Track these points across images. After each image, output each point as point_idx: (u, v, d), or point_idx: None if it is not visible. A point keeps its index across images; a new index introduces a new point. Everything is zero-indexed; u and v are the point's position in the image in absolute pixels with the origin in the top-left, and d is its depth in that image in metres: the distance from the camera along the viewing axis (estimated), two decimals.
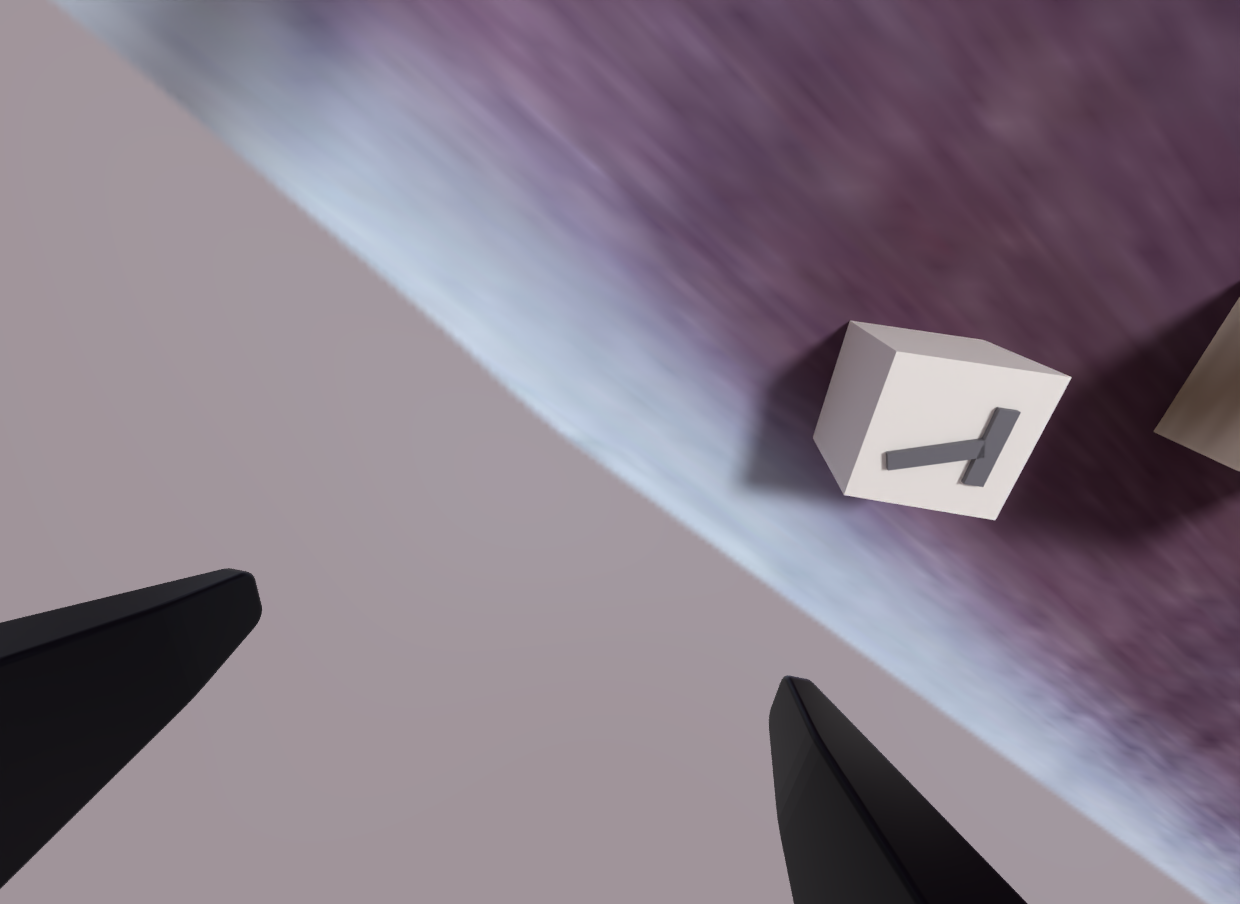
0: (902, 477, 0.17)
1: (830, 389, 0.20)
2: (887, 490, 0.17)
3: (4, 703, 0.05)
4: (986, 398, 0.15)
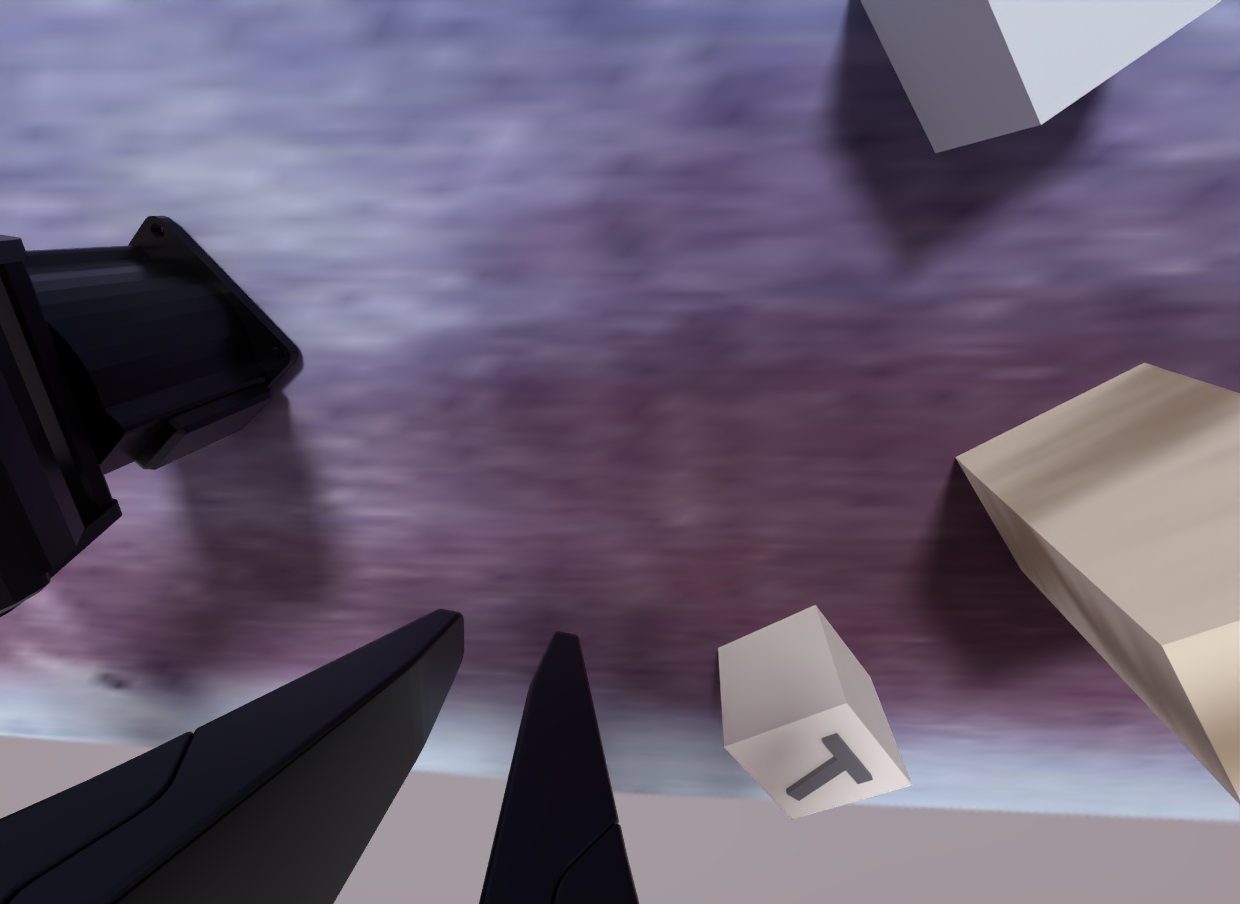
0: (815, 794, 0.20)
1: None
2: (815, 805, 0.20)
3: (325, 773, 0.05)
4: (808, 737, 0.18)
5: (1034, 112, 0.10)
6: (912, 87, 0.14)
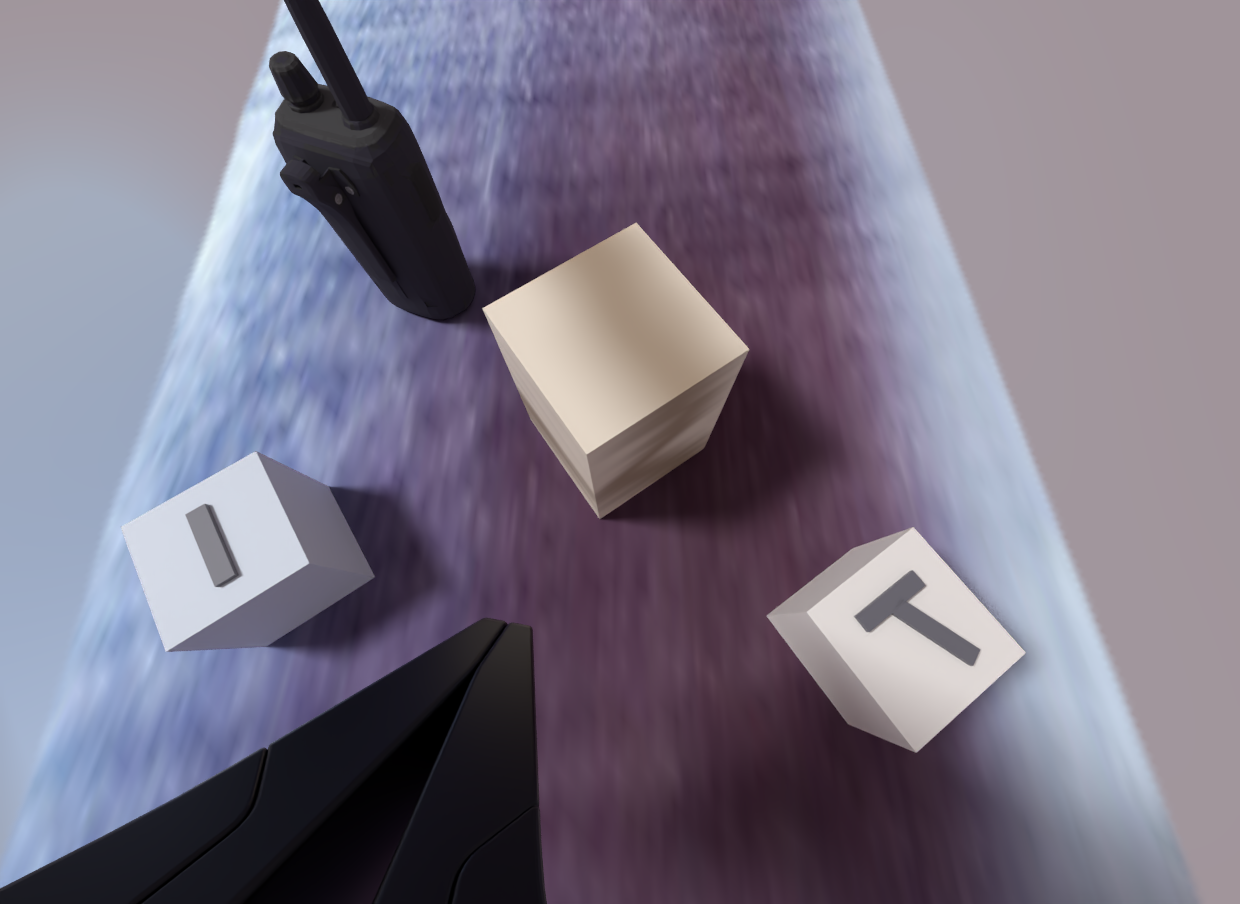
0: (966, 627, 0.17)
1: None
2: (985, 626, 0.17)
3: (395, 788, 0.05)
4: (870, 646, 0.16)
5: (303, 567, 0.17)
6: (327, 602, 0.21)
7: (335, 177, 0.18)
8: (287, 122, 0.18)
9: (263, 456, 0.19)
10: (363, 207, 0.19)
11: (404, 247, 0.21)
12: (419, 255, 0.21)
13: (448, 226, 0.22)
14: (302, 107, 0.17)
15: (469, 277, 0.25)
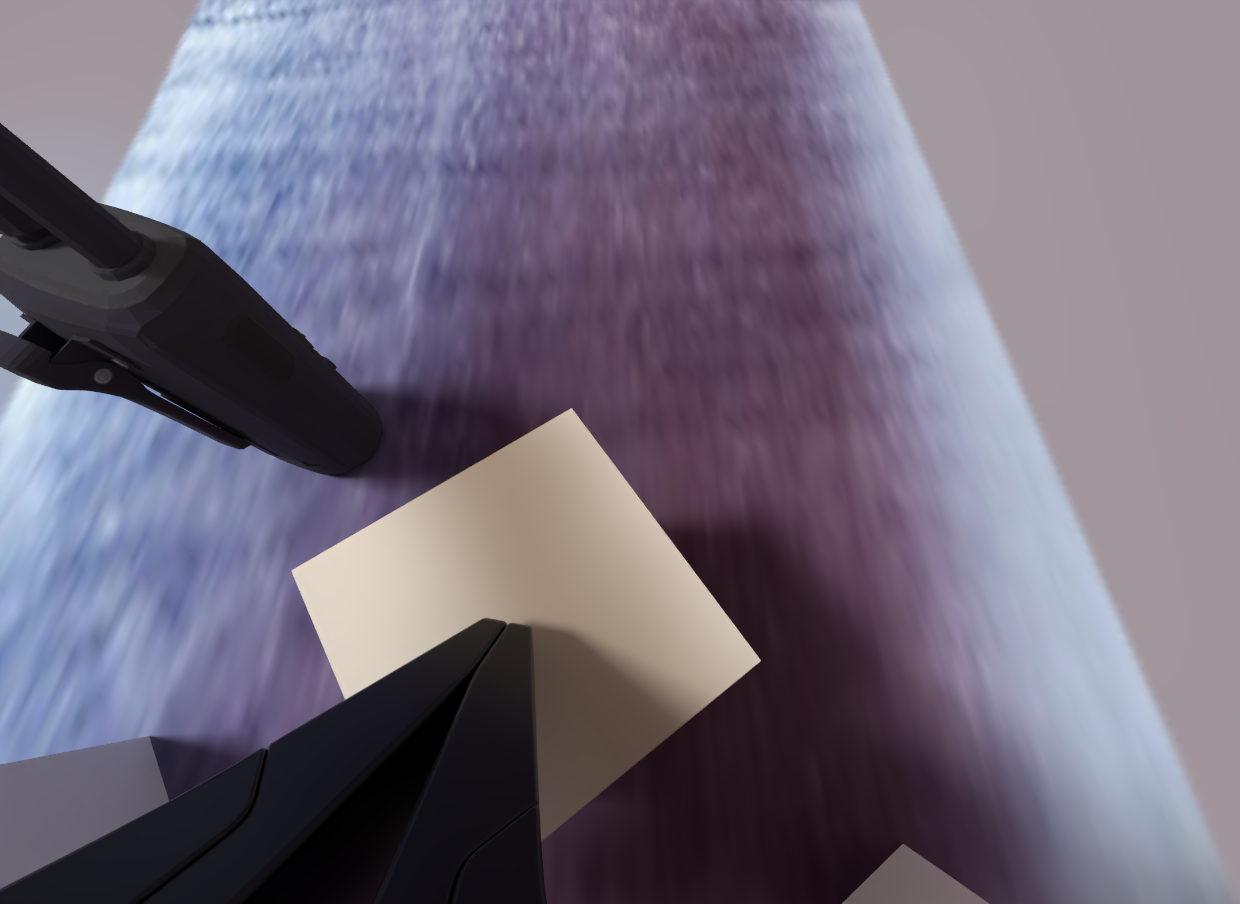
0: None
1: None
2: None
3: (395, 788, 0.05)
4: None
5: None
6: None
7: (93, 345, 0.11)
8: (6, 265, 0.11)
9: None
10: (156, 379, 0.12)
11: (241, 417, 0.14)
12: (269, 424, 0.15)
13: (318, 376, 0.15)
14: (30, 242, 0.11)
15: (368, 422, 0.19)
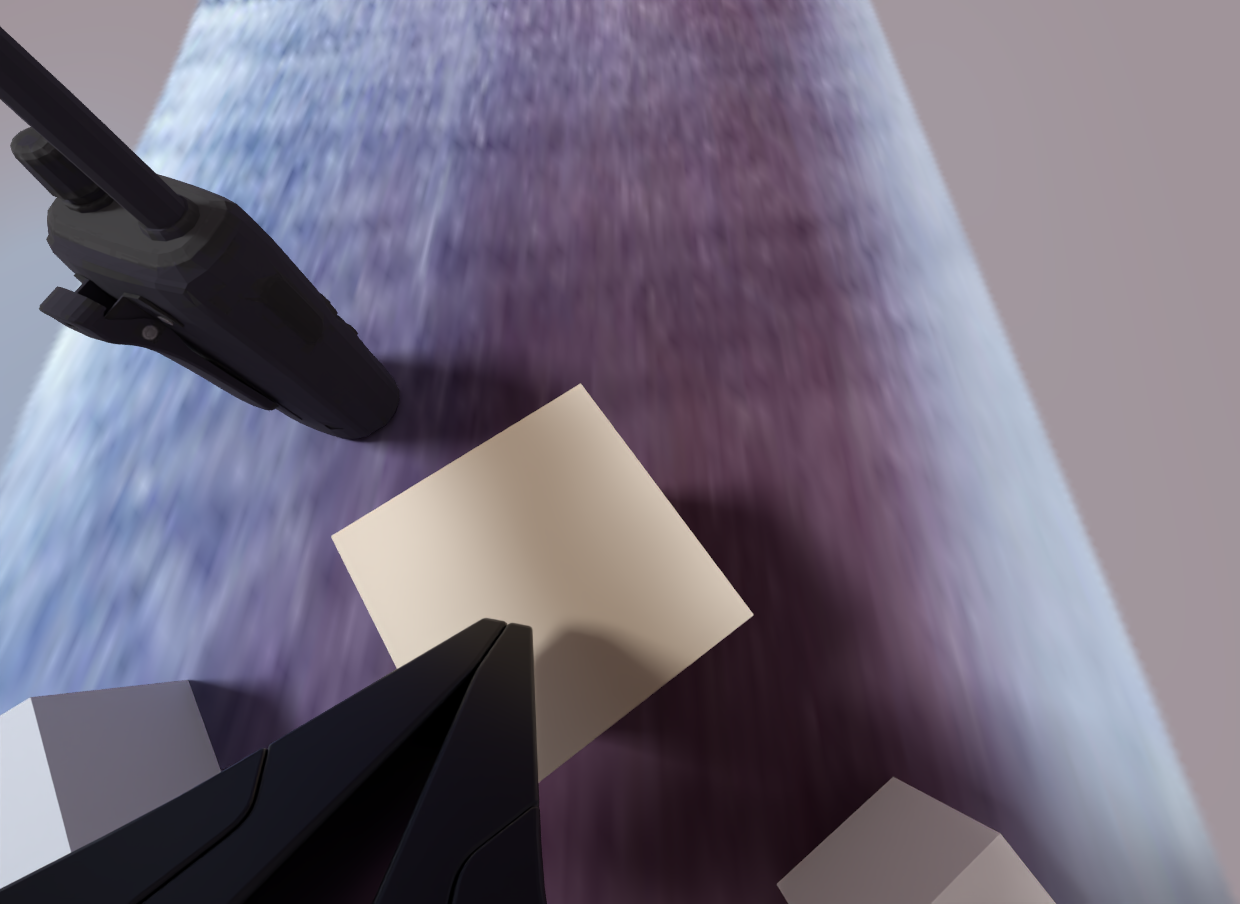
0: None
1: None
2: None
3: (395, 788, 0.05)
4: None
5: None
6: None
7: (141, 303, 0.12)
8: (60, 227, 0.12)
9: (47, 699, 0.13)
10: (196, 337, 0.13)
11: (273, 376, 0.15)
12: (299, 384, 0.16)
13: (342, 340, 0.16)
14: (82, 205, 0.12)
15: (387, 388, 0.19)
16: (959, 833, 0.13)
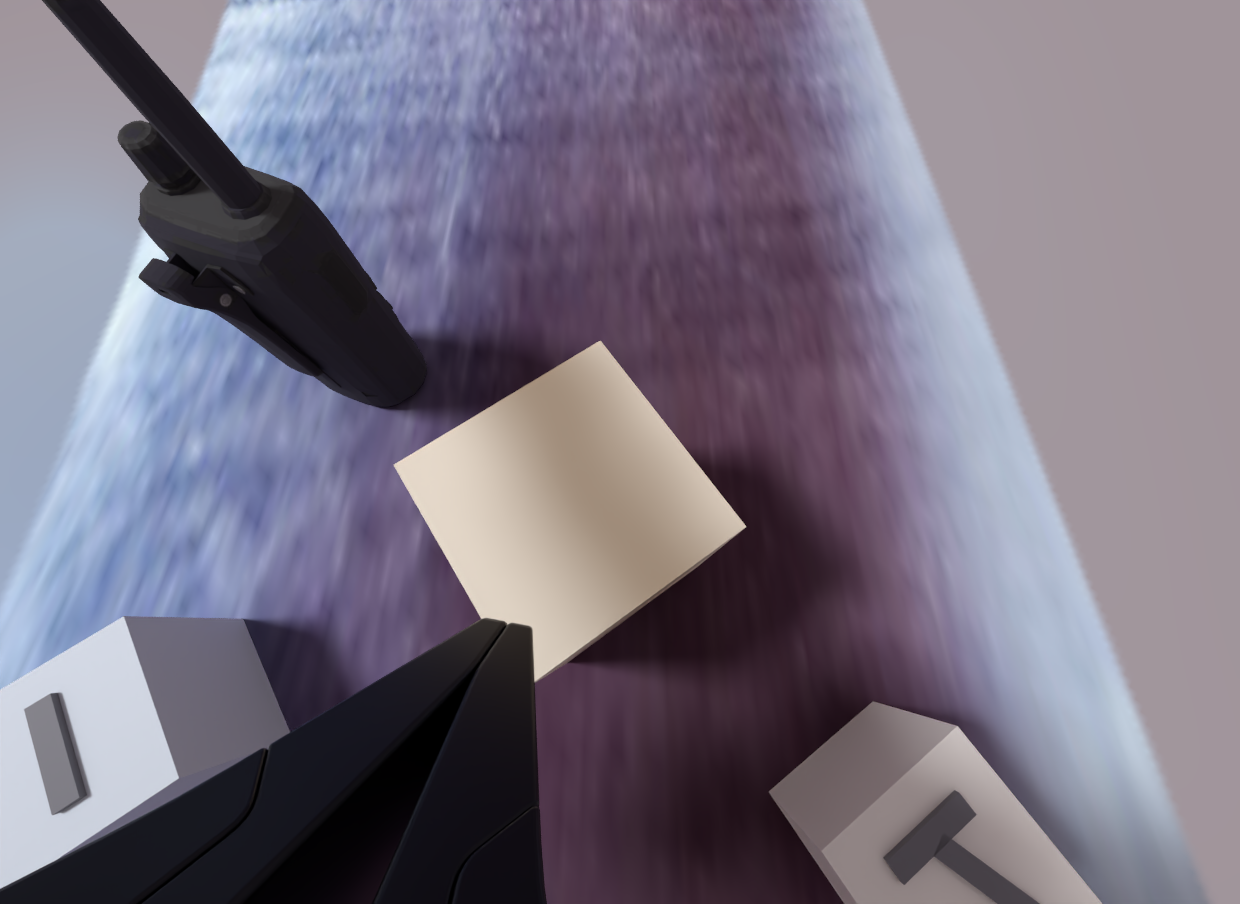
0: (1030, 874, 0.13)
1: None
2: (1056, 872, 0.13)
3: (395, 788, 0.05)
4: (905, 903, 0.12)
5: (172, 781, 0.14)
6: None
7: (219, 274, 0.14)
8: (152, 208, 0.14)
9: (136, 619, 0.15)
10: (262, 305, 0.15)
11: (323, 343, 0.17)
12: (345, 351, 0.18)
13: (382, 312, 0.18)
14: (171, 188, 0.14)
15: (417, 359, 0.21)
16: (924, 731, 0.15)
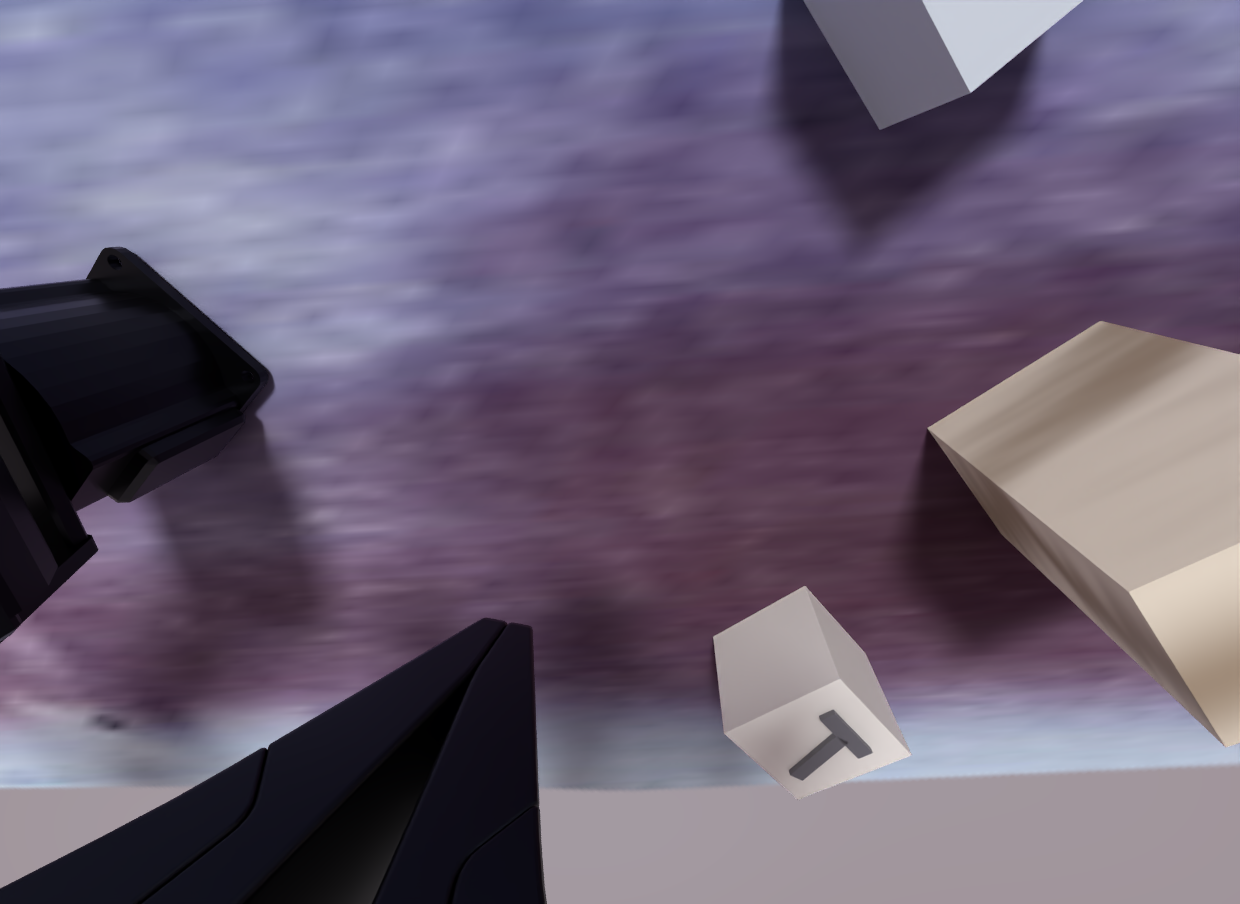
0: (818, 773, 0.20)
1: None
2: (819, 783, 0.20)
3: (395, 788, 0.05)
4: (806, 716, 0.19)
5: (963, 81, 0.10)
6: (850, 66, 0.14)
7: None
8: None
9: None
10: None
11: None
12: None
13: None
14: None
15: None
16: (894, 724, 0.20)
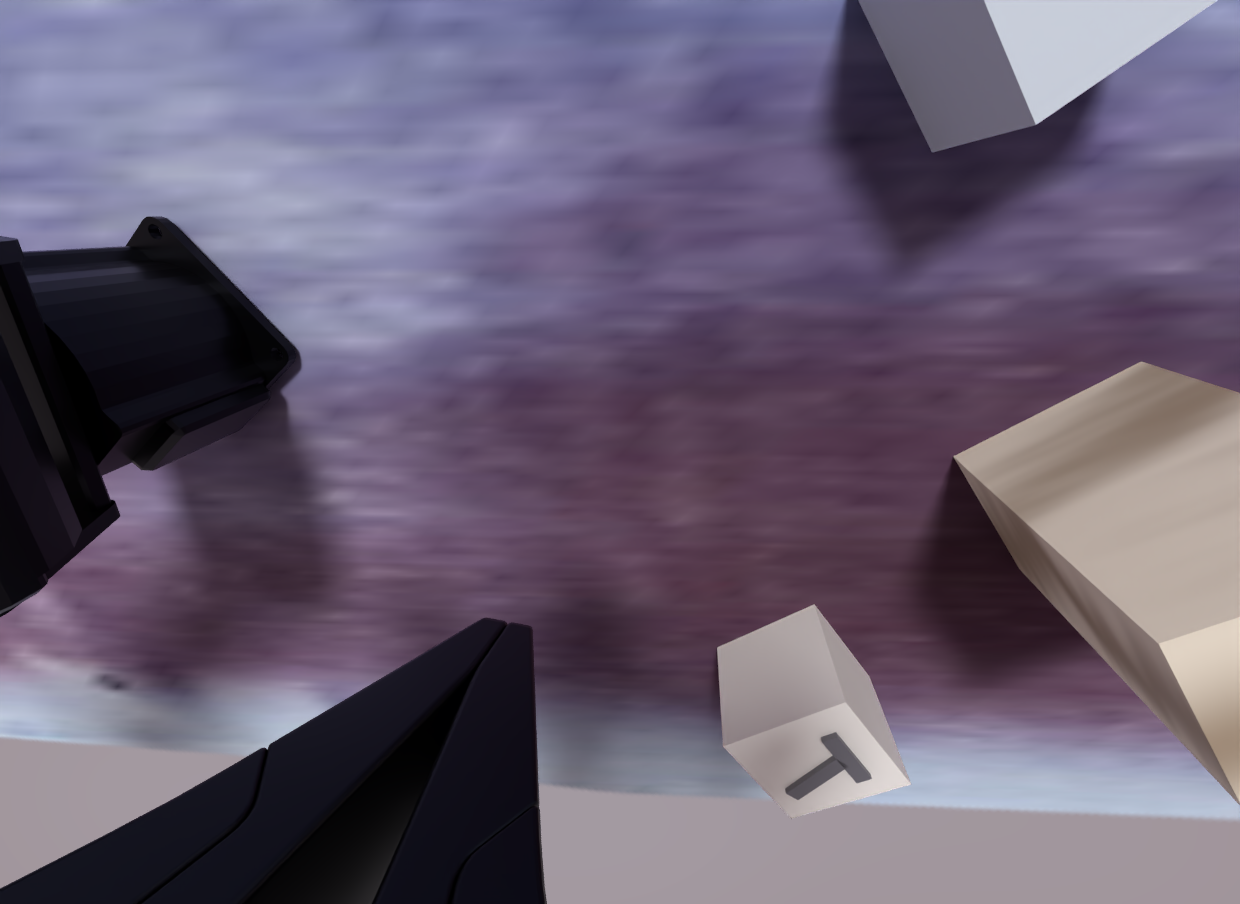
0: (815, 794, 0.20)
1: None
2: (814, 804, 0.20)
3: (395, 788, 0.05)
4: (808, 737, 0.18)
5: (1029, 112, 0.10)
6: (909, 86, 0.14)
7: None
8: None
9: None
10: None
11: None
12: None
13: None
14: None
15: None
16: (895, 752, 0.20)
